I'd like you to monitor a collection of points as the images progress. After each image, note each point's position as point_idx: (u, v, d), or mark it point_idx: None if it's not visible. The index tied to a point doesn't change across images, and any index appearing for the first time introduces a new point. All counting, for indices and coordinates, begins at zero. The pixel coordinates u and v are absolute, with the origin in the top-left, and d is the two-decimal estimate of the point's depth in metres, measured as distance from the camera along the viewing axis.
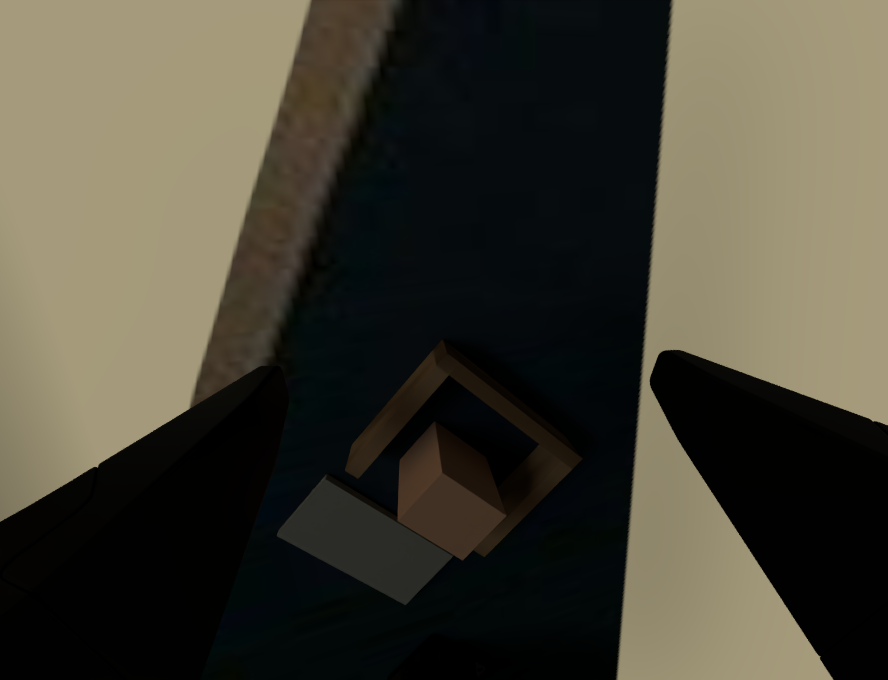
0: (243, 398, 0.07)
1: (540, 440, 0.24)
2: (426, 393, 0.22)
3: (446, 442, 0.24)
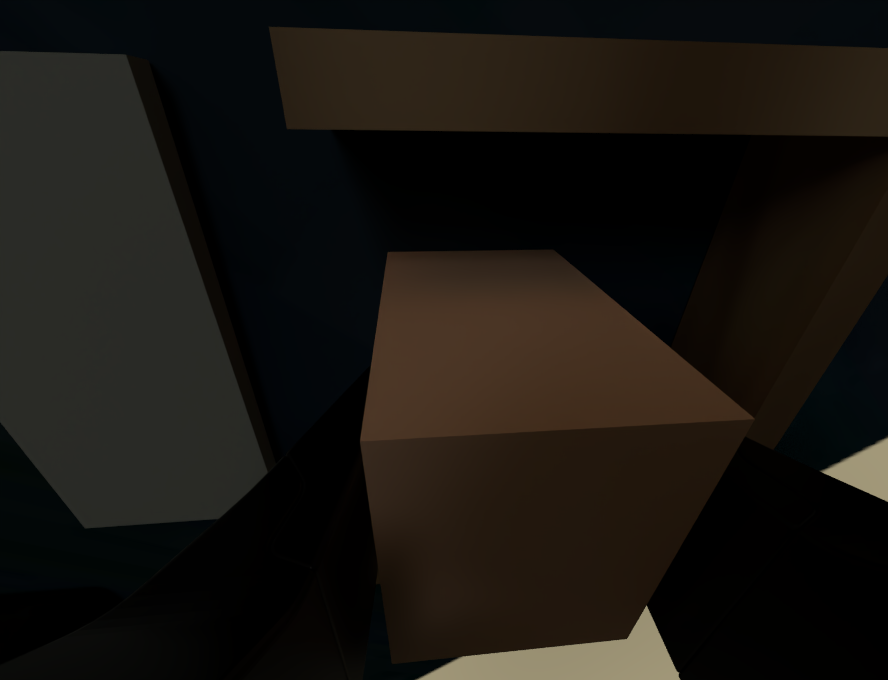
0: None
1: None
2: (820, 110, 0.05)
3: None
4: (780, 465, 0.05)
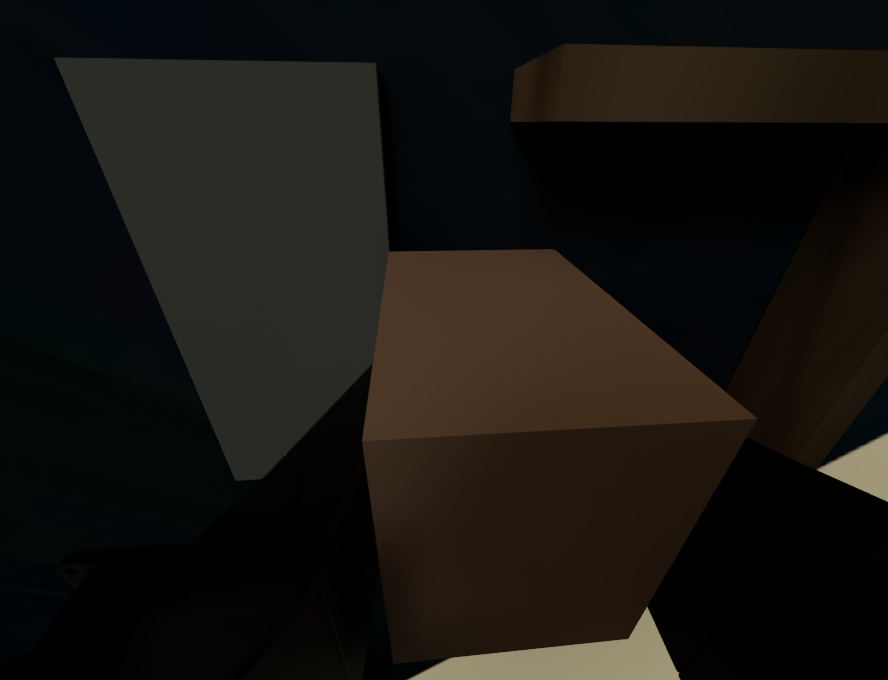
0: None
1: (822, 431, 0.11)
2: None
3: None
4: (780, 465, 0.05)
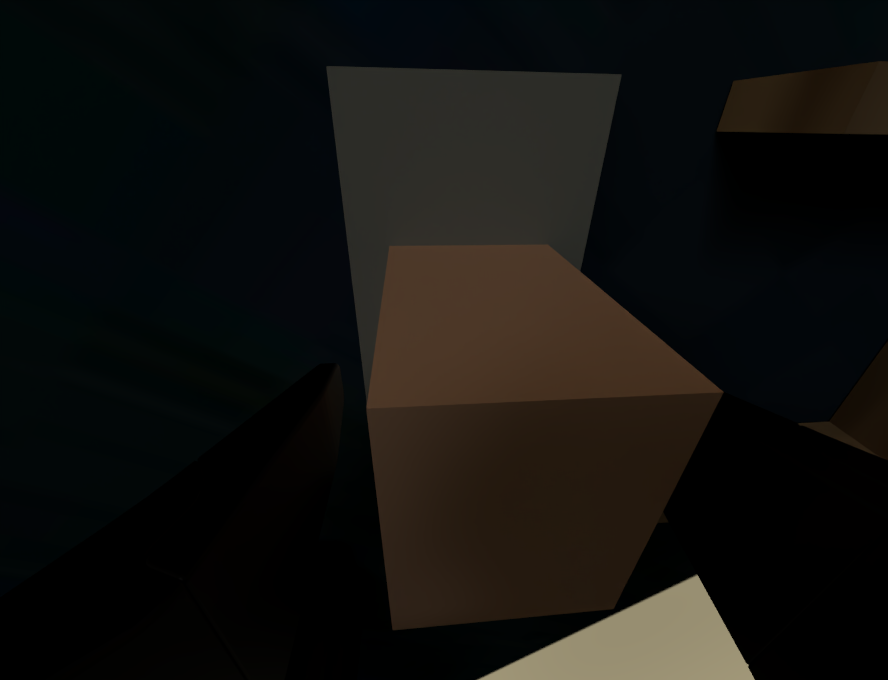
0: (315, 395, 0.07)
1: None
2: None
3: None
4: (861, 460, 0.05)
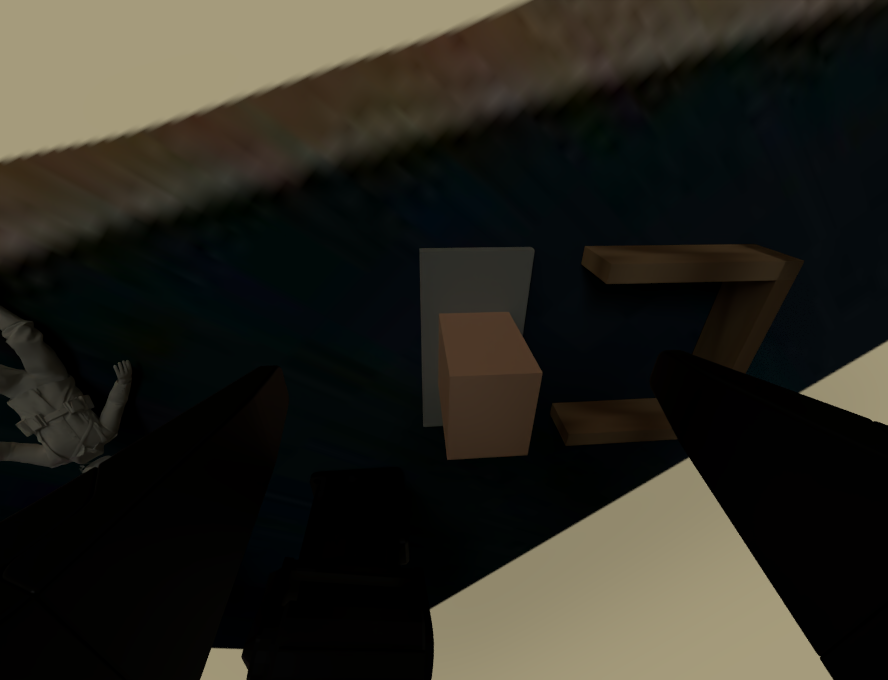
0: (243, 398, 0.07)
1: None
2: (747, 275, 0.18)
3: None
4: None
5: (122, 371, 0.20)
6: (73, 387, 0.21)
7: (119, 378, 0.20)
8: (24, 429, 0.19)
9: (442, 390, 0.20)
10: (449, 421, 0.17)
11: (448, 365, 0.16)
